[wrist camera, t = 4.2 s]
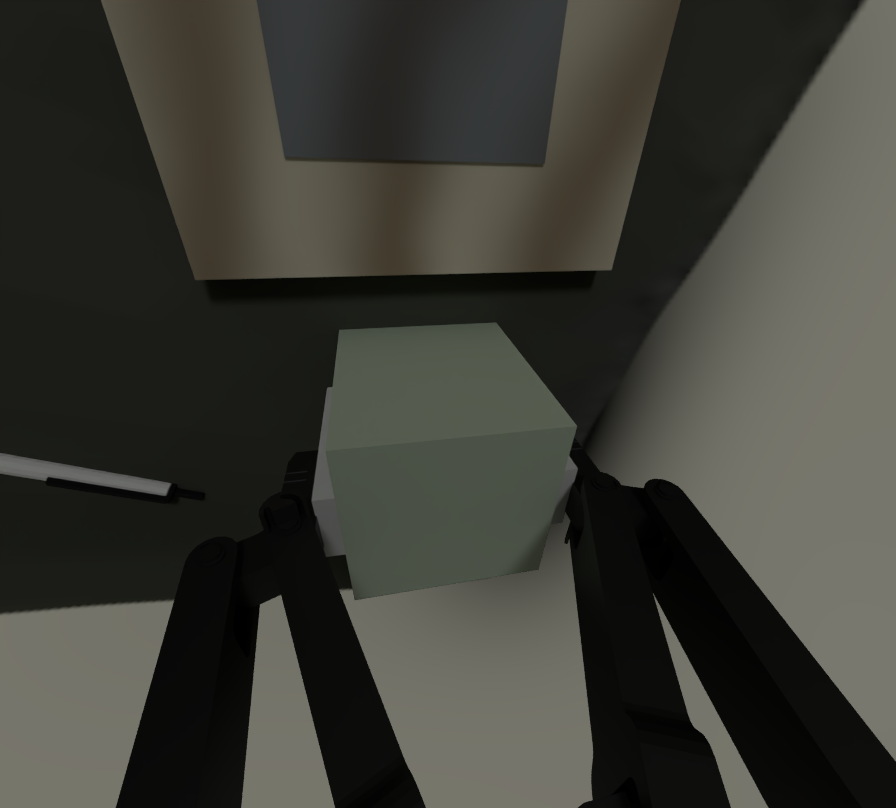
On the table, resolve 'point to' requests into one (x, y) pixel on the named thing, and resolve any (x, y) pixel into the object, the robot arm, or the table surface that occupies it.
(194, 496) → the pen
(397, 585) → the sage block
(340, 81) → the beige flat square slab
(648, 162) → the table surface
